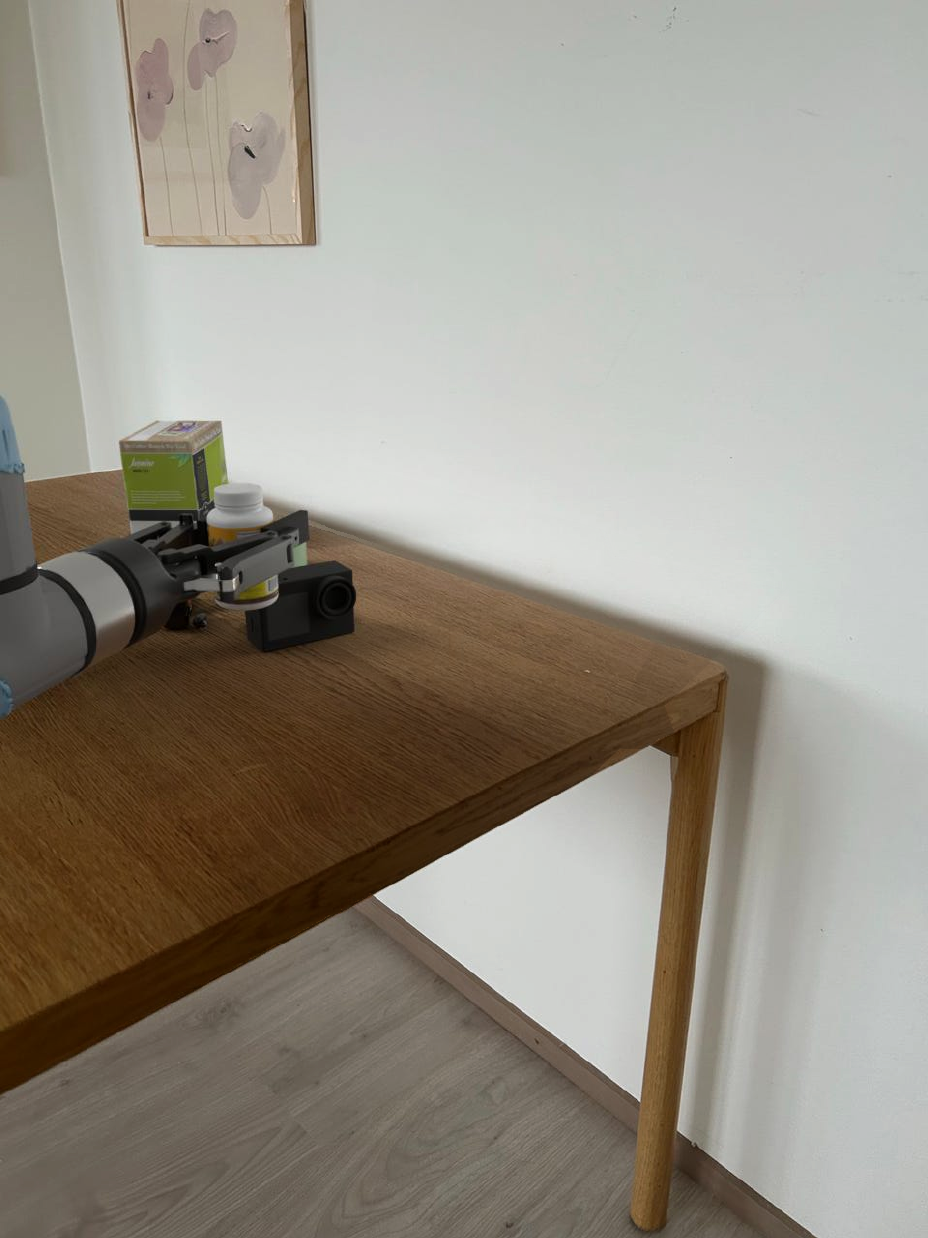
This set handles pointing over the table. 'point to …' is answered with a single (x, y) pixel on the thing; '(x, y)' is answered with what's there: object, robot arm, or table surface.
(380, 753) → the table surface
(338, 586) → the digital camera
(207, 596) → the table surface
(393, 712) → the table surface
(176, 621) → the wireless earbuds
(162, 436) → the tea box
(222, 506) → the supplement bottle
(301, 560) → the pale green cylinder
